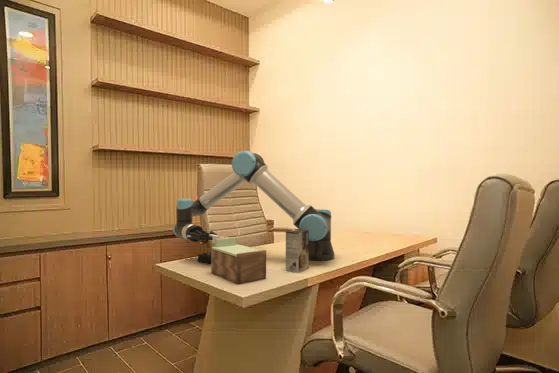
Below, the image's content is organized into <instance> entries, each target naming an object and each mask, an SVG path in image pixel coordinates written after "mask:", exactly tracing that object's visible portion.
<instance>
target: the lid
mask: <svg viewBox="0 0 559 373" xmlns="http://www.w3.org/2000/svg"><path fill="white" fill-rule="evenodd" d="M237 239H238V238H237V237H235V236H233V237H231V236H230V237H224V238H221V237H220V239H215V242H214V246H212V247H211V250H216V251H220V252H223V253H226V254H229V255H232V256H235V257H237V254H238V253H245V252H253V251H260V250H261V249H257V248H253V247H250V246H247V245H242V244H238V243H237V241H238V240H237Z"/></svg>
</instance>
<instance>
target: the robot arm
mask: <svg viewBox="0 0 559 373" xmlns="http://www.w3.org/2000/svg"><path fill="white" fill-rule="evenodd" d="M231 168H232V170H233V172H232V173H231V174H229V175H228V176H227V177H226V178H224V179H223V180H221V181H220V182H218V183H217V184H216V185H215V186H213V187H211V189H209V190H208V191H207V192H204V194H203V195H201V196H200V197H198V198H197V199H195V201H193V199H192V198H178V199H176V205H175V208H176V216H175V217H176V222H175V224H174V225H173V228H172V231H173V234H174V235H175V237H177V238H180V239H184V240H188V241H189V242H194V243H197V242H198V243H199V241H202V242H203V241H205V243H209V242H211V243H215V239H221V236H220V235H218V233H216V232H214V231H213V230H210V231H207V230H204V229H203V228H202V227H201V226H200V225H197V224H193V217H200V216H203V215H205V214H206V212H207V211H208V210H209V209H211V208H212V207H213V206H214V205H216V204H217V203H218V202H220V201H221V200H223V199H224V198H226V197H228V195H230V194H231V193H232V192H234V191H236V190H237V189H238V188H239V187H241V186H242V185H244V184H245V183H249V184H250V185H256V187H257V188H259V190H261V191H262V192H263V193H264V194H265V195H266V196H267V197H268V198H269V199H271V201H272V202H274V203H275V204H276V205H277V206H278V207H279V208H280V209H281V210H282V211H284V213H285V214H287V215H288V216H289V217H290V218H291V219H292V221H293V222H292V224H293V226H294V227H295V228H296V229H303V230H309V231H308V234H309V251H308V260H310V261H330V260H334V259H335V251H334V247H333V245H332V240H331V239H332V212H331V210H330V209H323V208H321V209H320V208H319V209H318V208H315V207H313V205H311V204H310V205H306V204H305V203H304V202H303V201H302V200H301V199H300V198H298V196H296V195H295V194H294V193H293V192H292V191H291V190H290V189H288V187H287V186H286V185H285V184H283V183H282V182H281V181H280V180H279V179H278V178H277V177H275V175H273V173H271V172H270V171H269V169H268V165H267V164H266V163H265V161H264V159H263V157H262V156H261V155H260V154H258V153H256V152H251V151H250V150H241V151H238V152H236V154H235V155H234V156H233V157H232V160H231Z"/></svg>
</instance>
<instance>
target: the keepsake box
mask: <svg viewBox="0 0 559 373" xmlns="http://www.w3.org/2000/svg"><path fill="white" fill-rule="evenodd" d="M210 250H211V251H210V252H211V265H210V267H211V268H210V272H211V274H213V275H216V276H218V277H220V278H223V279H225V280H226V281H227V280H228V281H230V282H232V283H234V284H236V285H242V284H247V283H251V282H257V281H262V280H263V281H264V280H266V279H267V250H266V249H262V250H261V249H259V250H260V251H253V252H245V253H238V254H237V257H235V256H232V255H229V254H226V253H223V252H220V251H216V250H213V249H210Z"/></svg>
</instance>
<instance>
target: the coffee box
mask: <svg viewBox="0 0 559 373" xmlns="http://www.w3.org/2000/svg"><path fill="white" fill-rule="evenodd" d="M308 231H309V230H303V229H298V228H294V229H289V230H287V231H285V271H286V272H293V273H301V272H303V271H305V270H307V269H309V259H308V251H309V234H308Z"/></svg>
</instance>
